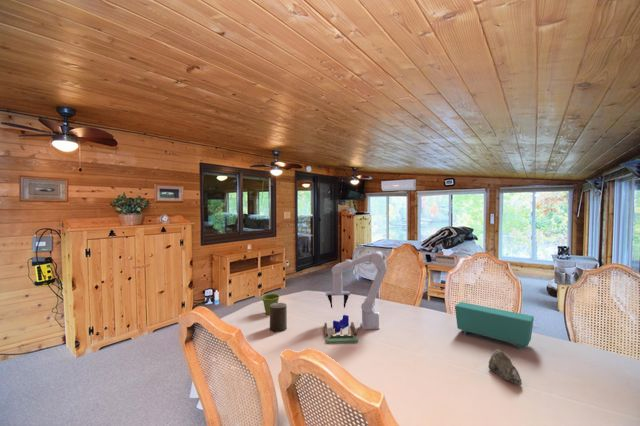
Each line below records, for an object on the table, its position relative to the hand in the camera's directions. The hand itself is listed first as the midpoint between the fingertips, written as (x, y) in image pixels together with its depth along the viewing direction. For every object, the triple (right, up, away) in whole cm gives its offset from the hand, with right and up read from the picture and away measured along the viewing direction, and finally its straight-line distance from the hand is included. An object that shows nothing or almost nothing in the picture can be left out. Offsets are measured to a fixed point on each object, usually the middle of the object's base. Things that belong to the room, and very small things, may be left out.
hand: (338, 307), depth 176 cm
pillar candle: (-35, -10, -7) cm, 37 cm away
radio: (+79, -9, -24) cm, 83 cm away
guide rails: (0, -10, -12) cm, 15 cm away
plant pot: (-43, -10, +18) cm, 48 cm away
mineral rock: (+63, -10, -58) cm, 86 cm away
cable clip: (+1, -10, -8) cm, 12 cm away
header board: (+1, -10, -24) cm, 26 cm away
